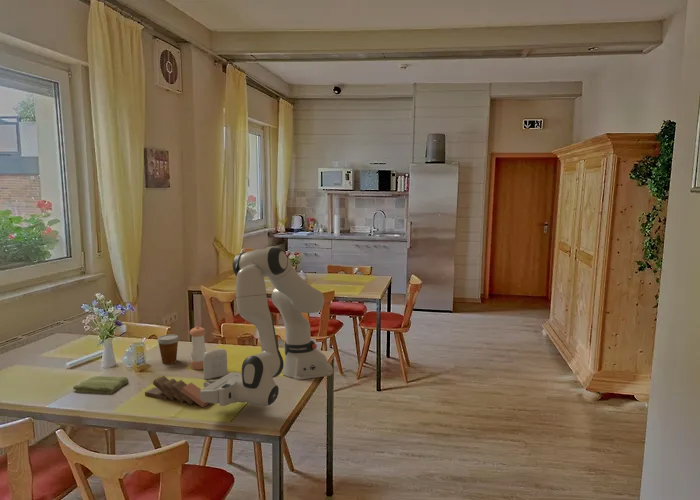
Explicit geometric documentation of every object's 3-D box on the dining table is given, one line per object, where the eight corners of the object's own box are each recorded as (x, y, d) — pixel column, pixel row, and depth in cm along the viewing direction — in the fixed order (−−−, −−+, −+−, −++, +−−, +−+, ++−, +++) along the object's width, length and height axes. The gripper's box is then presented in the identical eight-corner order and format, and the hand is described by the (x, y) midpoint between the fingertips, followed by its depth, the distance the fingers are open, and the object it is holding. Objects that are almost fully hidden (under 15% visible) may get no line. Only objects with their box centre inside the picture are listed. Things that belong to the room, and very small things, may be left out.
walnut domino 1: (175, 391, 196) (154, 387, 200) (166, 396, 192) (144, 391, 196) (175, 396, 196) (154, 391, 201) (166, 401, 192) (145, 396, 196)
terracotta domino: (212, 398, 189) (191, 382, 192) (204, 403, 185) (182, 387, 188) (211, 402, 190) (189, 386, 193) (202, 407, 185) (181, 391, 188)
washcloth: (92, 380, 212) (91, 373, 211) (130, 382, 209) (130, 375, 209) (71, 393, 199) (70, 385, 198) (111, 395, 197) (111, 388, 196)
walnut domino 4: (201, 395, 191) (181, 379, 194) (192, 400, 186) (171, 384, 190) (199, 399, 192) (179, 384, 195) (191, 404, 187) (170, 388, 190)
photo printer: (225, 372, 220) (224, 345, 218) (228, 375, 216) (228, 348, 215) (202, 377, 214) (201, 350, 213) (205, 380, 211) (204, 352, 209)
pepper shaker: (187, 368, 225) (185, 327, 222) (197, 363, 232) (196, 323, 229) (200, 370, 222) (198, 329, 220) (210, 365, 229) (209, 325, 226)
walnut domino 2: (182, 391, 195) (163, 375, 199) (173, 396, 190) (154, 379, 194) (181, 395, 195) (162, 379, 199) (171, 400, 191) (152, 383, 195)
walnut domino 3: (193, 394, 193) (173, 378, 196) (183, 399, 188) (163, 382, 192) (191, 398, 193) (171, 382, 197) (182, 403, 189) (162, 387, 192)
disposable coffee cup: (167, 366, 227) (166, 341, 225) (154, 362, 232) (152, 338, 230) (184, 360, 235) (183, 336, 233) (171, 356, 240) (169, 332, 238)
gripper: (252, 370, 191) (222, 366, 196) (219, 391, 172) (187, 385, 177) (252, 386, 192) (222, 381, 197) (220, 408, 173) (188, 401, 178)
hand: (205, 383), depth 187 cm, fingers closed
